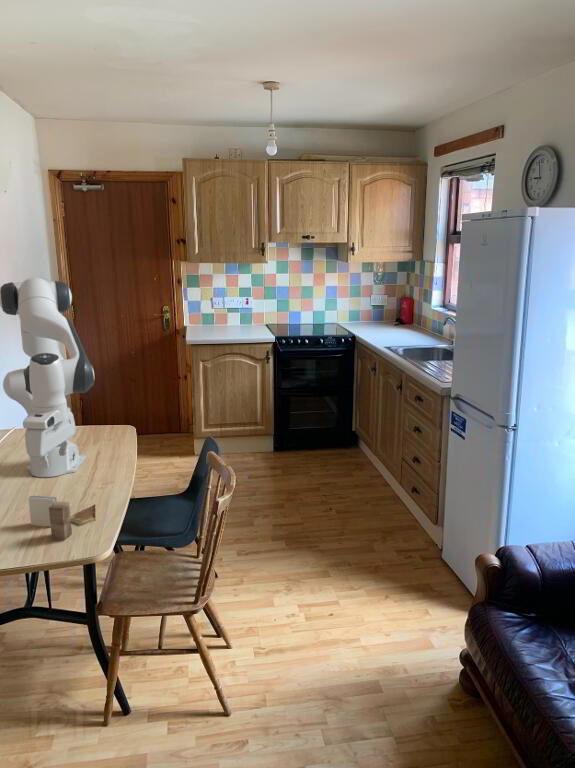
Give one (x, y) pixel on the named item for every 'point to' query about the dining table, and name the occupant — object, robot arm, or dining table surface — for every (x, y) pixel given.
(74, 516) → the shard
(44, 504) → the slate board
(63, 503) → the walnut block
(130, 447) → the dining table surface
